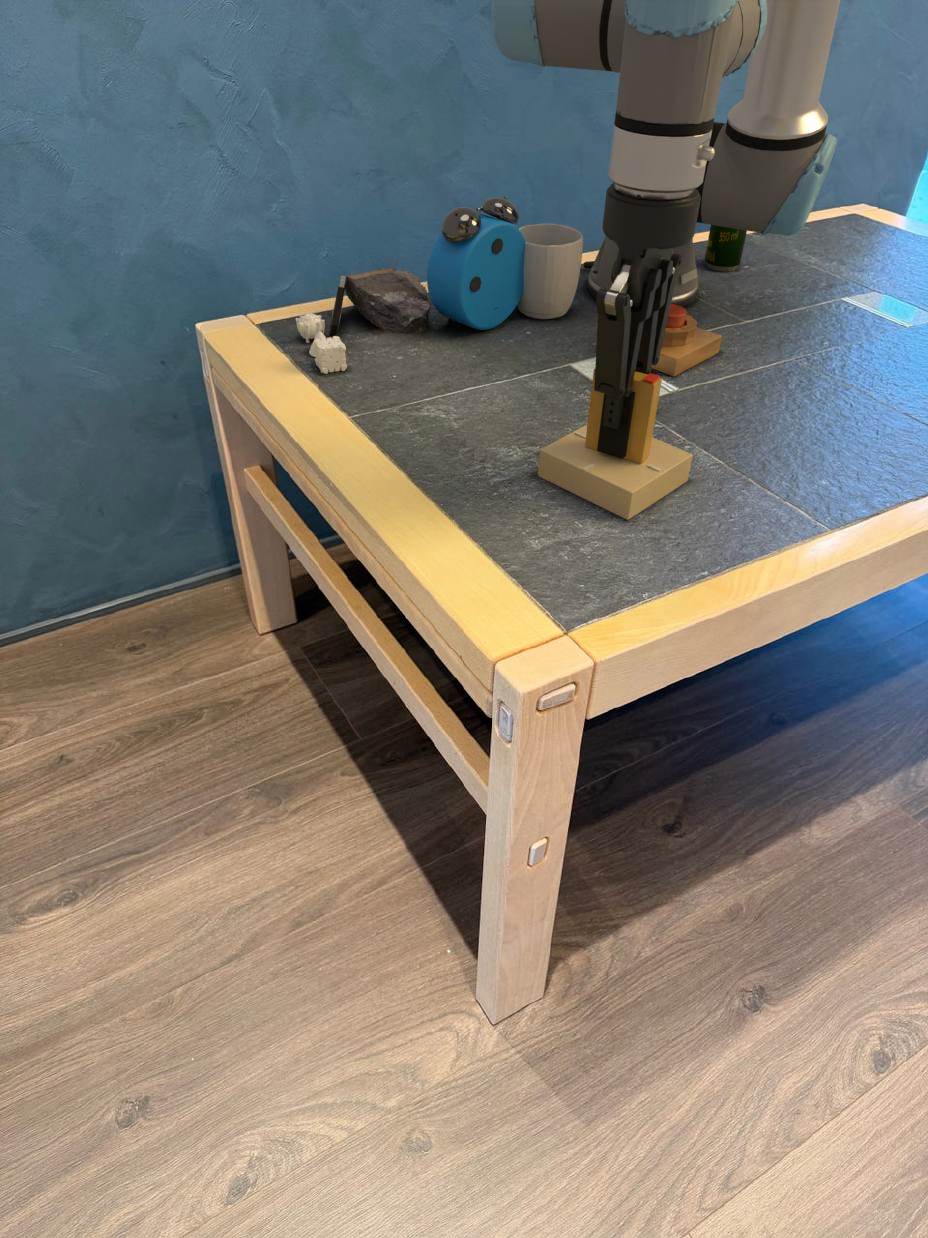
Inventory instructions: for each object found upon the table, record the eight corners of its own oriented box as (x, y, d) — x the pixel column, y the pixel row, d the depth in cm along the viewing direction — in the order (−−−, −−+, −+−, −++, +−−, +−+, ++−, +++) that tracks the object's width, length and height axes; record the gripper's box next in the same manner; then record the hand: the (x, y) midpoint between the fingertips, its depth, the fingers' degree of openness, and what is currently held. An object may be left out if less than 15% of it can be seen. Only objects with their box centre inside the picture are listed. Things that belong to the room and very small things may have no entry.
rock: (327, 310, 120) (326, 268, 116) (389, 293, 126) (390, 253, 123) (404, 343, 112) (405, 300, 109) (465, 324, 119) (468, 283, 116)
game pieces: (348, 371, 107) (346, 345, 105) (321, 375, 106) (318, 349, 104) (321, 331, 116) (318, 307, 113) (295, 335, 115) (293, 310, 112)
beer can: (731, 259, 140) (748, 175, 132) (744, 271, 136) (763, 185, 128) (698, 260, 139) (713, 176, 132) (711, 272, 135) (727, 186, 128)
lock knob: (584, 446, 88) (594, 366, 83) (592, 439, 89) (602, 359, 84) (641, 464, 86) (654, 382, 80) (649, 456, 87) (662, 375, 82)
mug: (588, 308, 123) (596, 232, 117) (551, 329, 118) (557, 250, 111) (513, 287, 129) (516, 213, 123) (475, 305, 124) (476, 229, 117)
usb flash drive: (338, 327, 112) (330, 325, 112) (333, 354, 117) (325, 352, 117) (347, 275, 116) (340, 273, 116) (342, 303, 121) (334, 302, 120)
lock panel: (536, 476, 89) (539, 448, 87) (599, 441, 95) (603, 413, 93) (627, 520, 84) (631, 491, 82) (688, 480, 89) (694, 452, 87)
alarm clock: (494, 303, 124) (498, 186, 114) (528, 316, 121) (535, 196, 111) (426, 330, 117) (423, 208, 107) (460, 345, 113) (460, 219, 104)
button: (644, 323, 111) (646, 309, 109) (663, 314, 113) (665, 300, 112) (671, 333, 108) (674, 318, 107) (690, 324, 111) (693, 309, 110)
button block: (606, 351, 113) (610, 319, 110) (652, 329, 118) (657, 299, 116) (673, 376, 107) (679, 344, 105) (718, 352, 113) (725, 321, 110)
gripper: (662, 216, 66) (620, 493, 81) (731, 173, 75) (681, 427, 91) (570, 199, 69) (546, 469, 84) (647, 159, 78) (613, 407, 94)
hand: (616, 447), depth 87 cm, fingers closed on lock knob, 2 cm apart
